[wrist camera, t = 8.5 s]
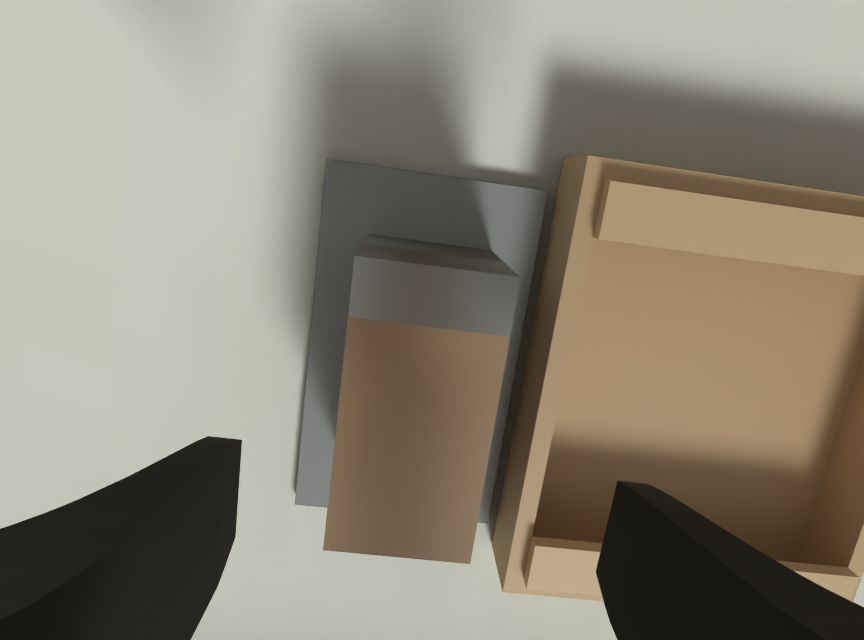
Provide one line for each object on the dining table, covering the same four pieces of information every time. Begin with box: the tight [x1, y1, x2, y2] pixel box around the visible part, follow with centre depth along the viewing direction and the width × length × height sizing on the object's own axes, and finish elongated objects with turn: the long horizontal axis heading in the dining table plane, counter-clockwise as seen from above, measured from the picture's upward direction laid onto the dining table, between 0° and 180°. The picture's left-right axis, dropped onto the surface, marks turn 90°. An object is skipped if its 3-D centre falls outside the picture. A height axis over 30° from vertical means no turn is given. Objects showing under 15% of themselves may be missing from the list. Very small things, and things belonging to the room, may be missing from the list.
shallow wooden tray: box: [492, 155, 864, 602], centre depth 19 cm, size 12×14×3 cm
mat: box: [295, 159, 548, 523], centre depth 20 cm, size 7×12×1 cm, turn 172°
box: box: [323, 234, 521, 564], centre depth 17 cm, size 4×8×5 cm, turn 172°
